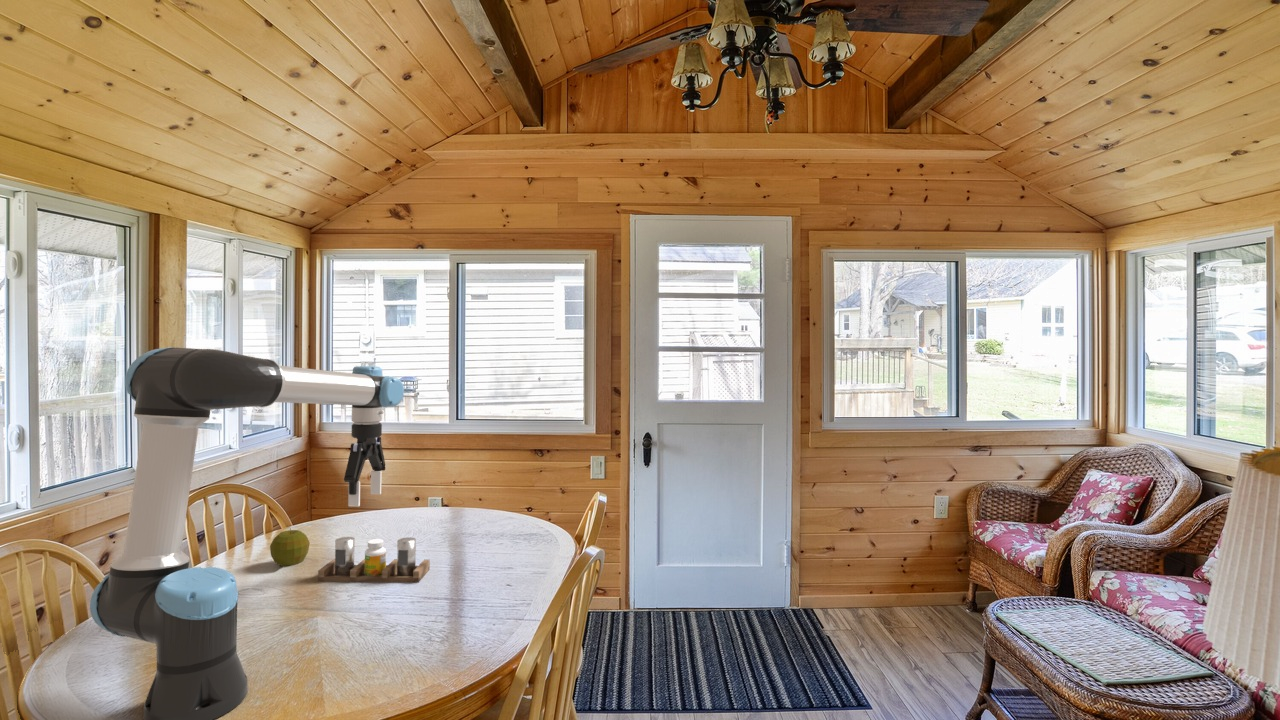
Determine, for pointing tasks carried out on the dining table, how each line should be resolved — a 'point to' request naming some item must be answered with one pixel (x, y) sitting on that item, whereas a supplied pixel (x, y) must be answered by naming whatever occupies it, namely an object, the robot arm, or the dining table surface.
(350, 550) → the shiny gray cylinder
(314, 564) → the dining table surface
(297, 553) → the apple
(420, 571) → the wooden spice rack
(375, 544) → the supplement bottle
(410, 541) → the glass spice jar
